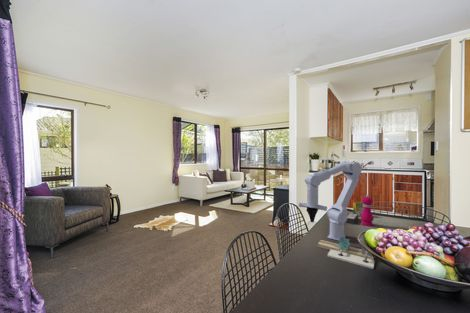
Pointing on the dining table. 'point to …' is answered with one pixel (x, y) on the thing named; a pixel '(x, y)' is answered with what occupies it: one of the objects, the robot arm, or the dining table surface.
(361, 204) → the crayon box
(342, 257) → the bolt plate
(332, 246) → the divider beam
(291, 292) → the dining table surface
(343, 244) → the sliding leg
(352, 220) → the calculator
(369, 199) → the pepper mill
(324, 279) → the dining table surface
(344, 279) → the dining table surface
